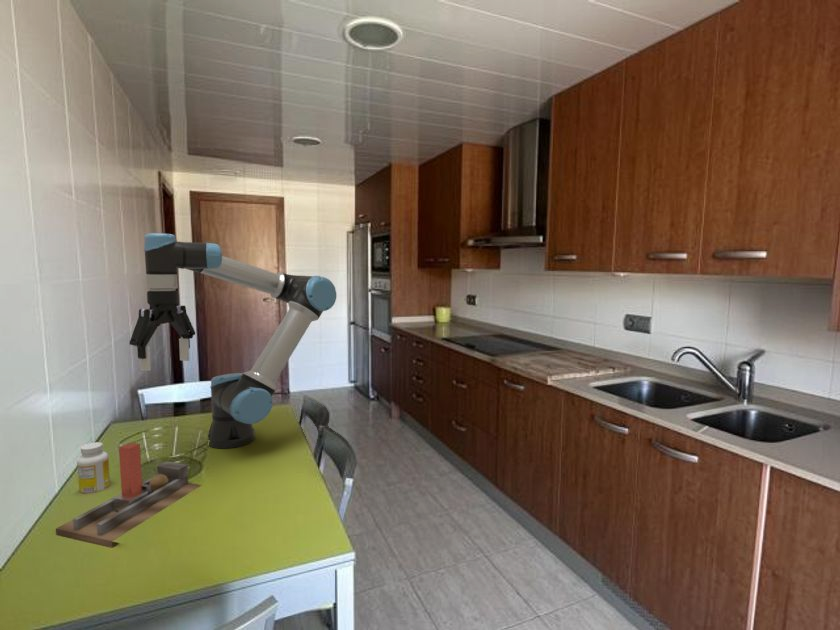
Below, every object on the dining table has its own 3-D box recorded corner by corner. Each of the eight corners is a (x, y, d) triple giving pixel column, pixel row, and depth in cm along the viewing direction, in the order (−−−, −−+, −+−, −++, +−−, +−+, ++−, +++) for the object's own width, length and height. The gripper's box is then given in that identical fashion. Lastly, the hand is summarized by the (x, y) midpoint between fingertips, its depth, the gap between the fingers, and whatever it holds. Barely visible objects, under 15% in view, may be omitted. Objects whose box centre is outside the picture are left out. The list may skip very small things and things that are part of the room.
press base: (154, 482, 125) (152, 459, 124) (202, 490, 121) (201, 467, 120) (56, 535, 100) (54, 507, 99) (112, 547, 96) (110, 518, 95)
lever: (135, 497, 113) (132, 439, 111) (151, 500, 112) (148, 442, 110) (113, 509, 107) (109, 449, 106) (130, 513, 106) (126, 451, 104)
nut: (159, 486, 120) (158, 470, 119) (172, 488, 118) (172, 472, 118) (145, 494, 115) (144, 477, 115) (159, 496, 114) (158, 480, 114)
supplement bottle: (104, 484, 124) (101, 438, 122) (114, 491, 120) (111, 444, 118) (75, 493, 118) (71, 446, 117) (85, 501, 114) (81, 452, 113)
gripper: (185, 287, 138) (188, 356, 140) (110, 291, 114) (115, 373, 116) (206, 288, 136) (209, 357, 138) (133, 292, 112) (138, 376, 114)
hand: (166, 365), depth 127 cm, fingers open, 13 cm apart
